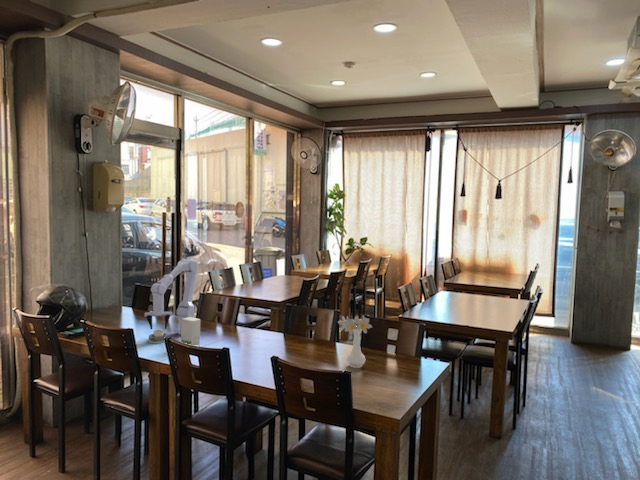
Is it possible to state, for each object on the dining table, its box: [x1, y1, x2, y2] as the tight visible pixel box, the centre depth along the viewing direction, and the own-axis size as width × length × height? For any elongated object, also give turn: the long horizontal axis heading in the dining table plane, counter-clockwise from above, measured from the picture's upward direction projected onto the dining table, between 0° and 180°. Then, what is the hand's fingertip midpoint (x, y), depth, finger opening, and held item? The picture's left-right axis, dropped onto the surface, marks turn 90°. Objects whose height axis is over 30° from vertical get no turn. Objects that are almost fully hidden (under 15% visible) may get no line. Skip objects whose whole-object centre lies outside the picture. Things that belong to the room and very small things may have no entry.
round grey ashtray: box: [147, 333, 169, 344], centre depth 273 cm, size 11×11×3 cm
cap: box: [153, 329, 165, 337], centre depth 273 cm, size 5×5×5 cm
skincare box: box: [180, 316, 201, 347], centre depth 262 cm, size 8×7×16 cm
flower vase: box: [337, 315, 373, 369], centre depth 237 cm, size 13×18×25 cm
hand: (158, 328), depth 273 cm, fingers open, 7 cm apart
